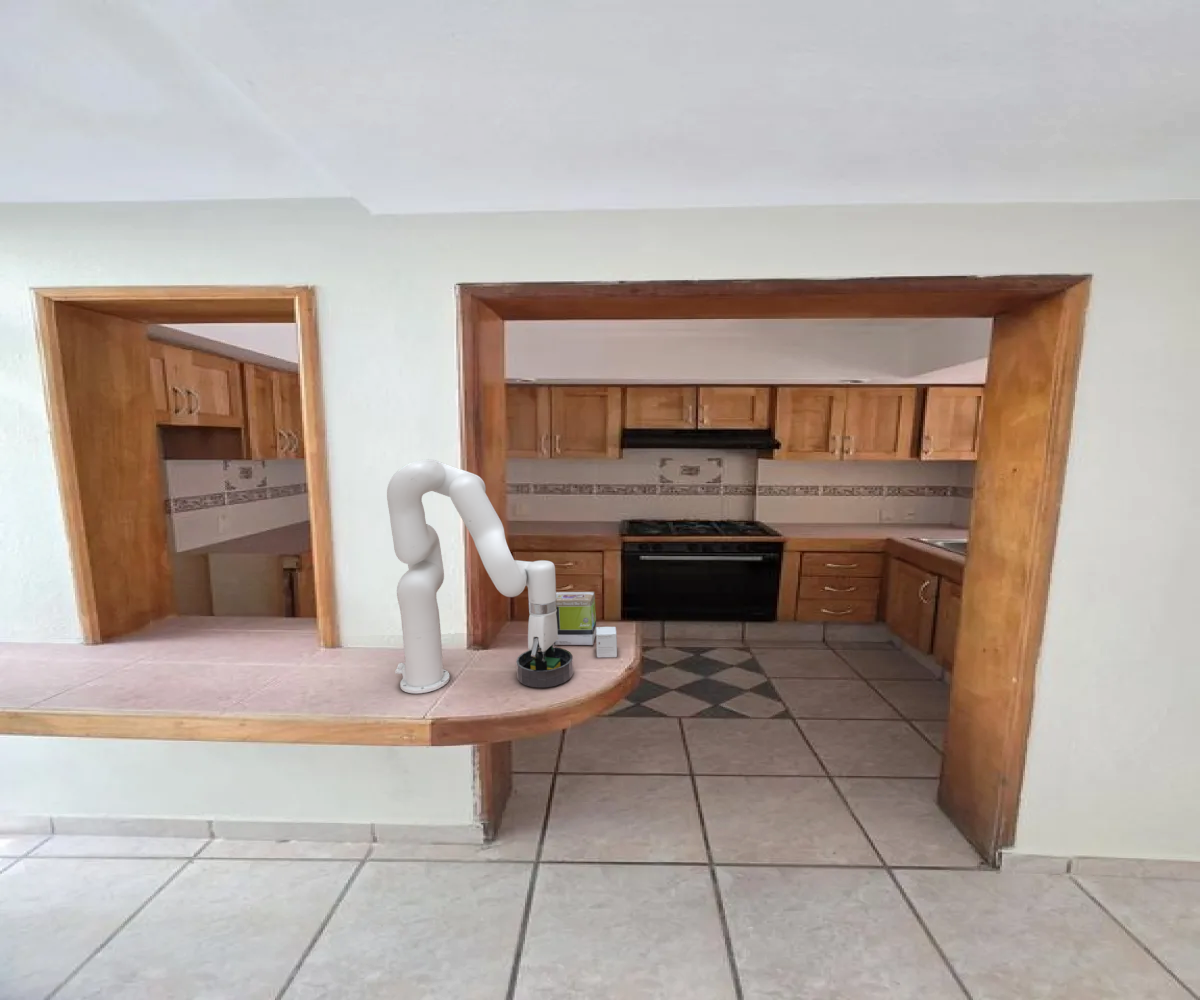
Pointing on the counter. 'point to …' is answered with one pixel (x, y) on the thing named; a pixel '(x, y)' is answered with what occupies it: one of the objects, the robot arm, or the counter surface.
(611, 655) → the product box
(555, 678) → the bowl
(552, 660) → the sponge
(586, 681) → the counter surface
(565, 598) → the tea box
